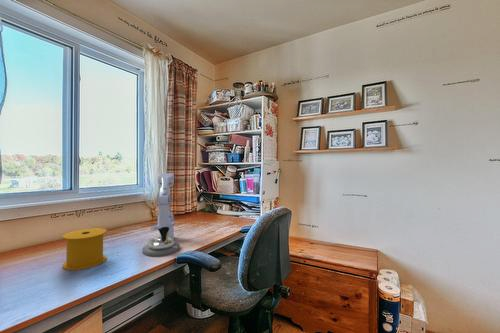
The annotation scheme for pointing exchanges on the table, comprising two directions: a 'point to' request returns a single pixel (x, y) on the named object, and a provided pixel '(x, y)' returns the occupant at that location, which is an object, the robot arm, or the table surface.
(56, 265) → the table surface
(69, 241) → the spool
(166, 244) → the silver round metal fixture
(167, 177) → the robot arm
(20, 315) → the table surface
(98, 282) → the table surface
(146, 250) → the base plate
